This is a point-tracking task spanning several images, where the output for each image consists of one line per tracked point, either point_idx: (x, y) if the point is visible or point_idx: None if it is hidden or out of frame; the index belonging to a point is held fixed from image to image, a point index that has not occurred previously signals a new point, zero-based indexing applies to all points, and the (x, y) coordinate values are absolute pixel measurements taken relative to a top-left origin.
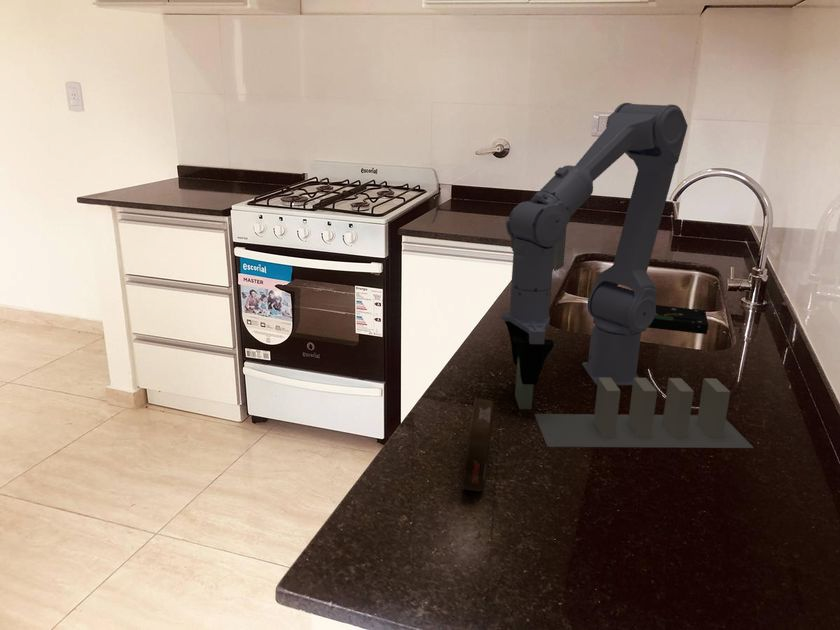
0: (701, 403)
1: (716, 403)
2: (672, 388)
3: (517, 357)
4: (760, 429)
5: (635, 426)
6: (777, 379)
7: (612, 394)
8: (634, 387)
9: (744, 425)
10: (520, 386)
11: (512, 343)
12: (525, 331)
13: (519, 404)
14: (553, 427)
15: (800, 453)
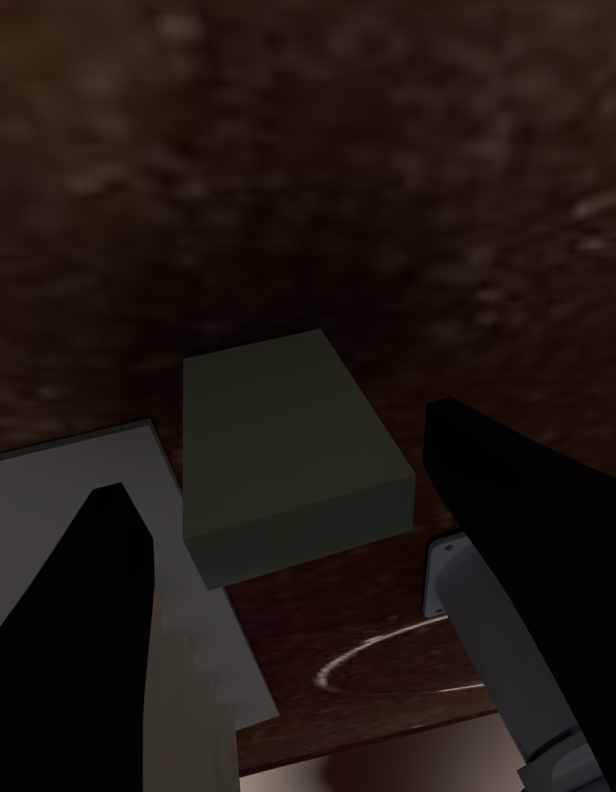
0: (223, 773)
1: None
2: None
3: (452, 447)
4: (241, 742)
5: None
6: (445, 714)
7: None
8: (161, 790)
9: (252, 729)
10: (204, 427)
11: (542, 493)
12: (609, 673)
13: (195, 371)
14: (42, 498)
15: None
